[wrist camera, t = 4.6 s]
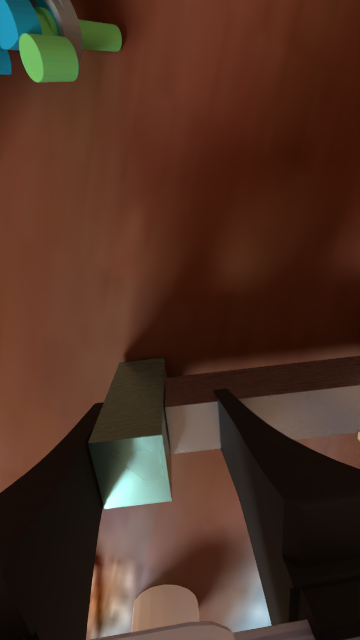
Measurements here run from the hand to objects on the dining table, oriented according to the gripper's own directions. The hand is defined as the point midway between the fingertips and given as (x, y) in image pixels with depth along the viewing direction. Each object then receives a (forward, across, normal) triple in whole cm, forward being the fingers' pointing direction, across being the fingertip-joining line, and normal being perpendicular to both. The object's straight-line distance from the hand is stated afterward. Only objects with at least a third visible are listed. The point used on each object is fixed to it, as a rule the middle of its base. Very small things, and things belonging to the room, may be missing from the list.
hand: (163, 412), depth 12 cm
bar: (+3, -10, 0) cm, 10 cm away
